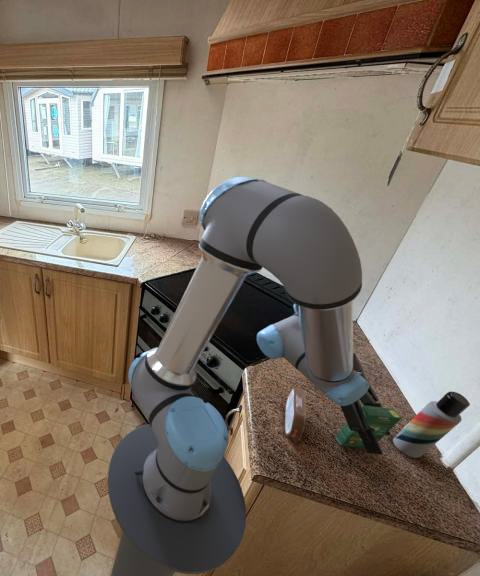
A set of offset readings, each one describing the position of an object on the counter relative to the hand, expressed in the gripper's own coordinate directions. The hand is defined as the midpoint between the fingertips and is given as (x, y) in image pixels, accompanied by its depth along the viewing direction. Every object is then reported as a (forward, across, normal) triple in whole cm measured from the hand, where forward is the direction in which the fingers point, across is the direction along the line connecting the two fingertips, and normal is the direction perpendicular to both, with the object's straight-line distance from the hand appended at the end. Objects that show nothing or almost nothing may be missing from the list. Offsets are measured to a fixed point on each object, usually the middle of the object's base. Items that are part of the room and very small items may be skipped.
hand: (379, 442), depth 75 cm
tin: (-8, +7, -15) cm, 19 cm away
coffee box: (+1, 0, -6) cm, 6 cm away
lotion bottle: (+8, -10, +1) cm, 13 cm away
